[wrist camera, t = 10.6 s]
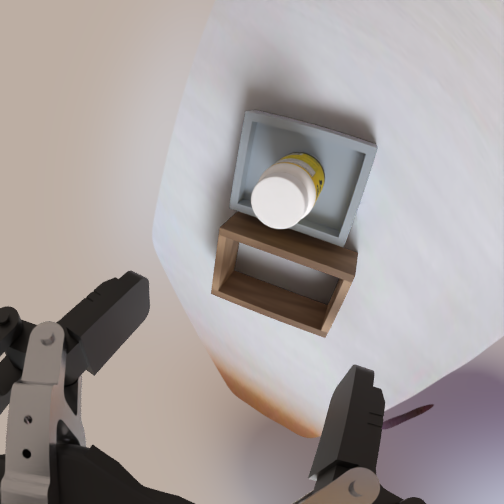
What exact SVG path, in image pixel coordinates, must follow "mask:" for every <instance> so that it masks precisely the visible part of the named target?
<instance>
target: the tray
mask: <svg viewBox="0 0 504 504" xmlns="http://www.w3.org/2000/svg"><path fill="white" fill-rule="evenodd" d="M377 149H378V148H377V145H376V144H374V143H371V142H368V141H365V140H362V139H359V138H356V137H353V136H350V135H347V134H344V133H341V132H338V131H334V130H331V129H328V128H324V127H321V126H318V125H314V124H310V123H307V122H303V121H299V120H296V119H292V118H288V117H284V116H280V115H276V114H271V113H267V112H262V111H258V110H249V111H245V116H244V122H243V128H242V133H241V139H240V145H239V150H238V156H237V162H236V168H235V174H234V180H233V186H232V193H231V199H230V205H229V208H230V209H233V210H236V211H239V212H242V213H245V214H248V215H251V216H254V217H257V216H256V215H255V213H254V211H253V209H252V205H251V195H252V191H253V189H254V187H255V186H256V184H257V183H258V181H259V179H260V177H261V175H262V174H263V173H264V171H265V170H267V169H268V168H269V167H270V166H272V165H273V164H275V163H276V162H277V161H279V160H280V159H282V158H283V157H285V156H286V155H288V154H290V153H292V152H306V153H309V154H311V155H313V156H314V157H316V158H317V159H318V160H319V161H320V163H321V164H322V166H323V168H324V171H325V183H324V186H323V189H322V191H321V193H320V194H319V197H318V198H317V200H316V202H315V205H314V206H313V208H312V210H311V211H310V212H309V213H308V214H307V215H306V216H305V217H304V218H302V219H300V221H299V222H298V223H297V224H295V225H294V226H292V227H289V228H290V229H292V230H295V231H298V232H301V233H304V234H307V235H310V236H312V237H315V238H318V239H321V240H324V241H327V242H329V243H332V244H335V245H338V246H341V247H343V248H344V245H345V243H346V240H347V237H348V235H349V232H350V229H351V226H352V224H353V221H354V218H355V215H356V213H357V210H358V207H359V204H360V201H361V198H362V195H363V192H364V189H365V186H366V183H367V180H368V177H369V174H370V171H371V168H372V165H373V162H374V158H375V155H376V152H377Z"/></svg>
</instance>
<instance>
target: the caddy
mask: <svg viewBox="0 0 504 504" xmlns="http://www.w3.org/2000/svg"><path fill="white" fill-rule="evenodd" d="M239 242H240V243H243V244H246V245H249V246H251V247H254V248H257V249H260V250H263V251H265V252H268V253H271V254H274V255H277V256H279V257H282V258H285V259H288V260H290V261H293V262H296V263H299V264H302V265H304V266H307V267H310V268H313V269H315V270H318V271H321V272H324V273H326V274H329V275H332V276H335V277H337V278H339V281H338V283H337V285H336V288H335V290H334V292H333V295H332V297H331V299H330V301H329V304H328V305H326V304H323V303H321V302H318V301H315V300H312V299H310V298H307V297H304V296H301V295H299V294H296V293H293V292H291V291H288V290H285V289H283V288H280V287H277V286H274V285H272V284H269V283H266V282H264V281H261V280H259V279H256V278H253V277H251V276H248V275H245V274H243V273H240V272H237V271H235V270H234V269H235V263H236V258H237V252H238V247H239ZM357 257H358V253H357V252H354V251H351V250H349V249H346V248H343V247H340V246H338V245H335V244H332V243H329V242H326V241H324V240H321V239H318V238H315V237H312V236H309V235H307V234H304V233H301V232H298V231H295V230H292V229H289V228H286V229H275V228H271V227H269V226H267V225H265V224H264V223H262V222H261V221H260V220H259V219H258V218H257V217H254V216H251V215H248V214H245V213H242V212H239V211H238V212H236V213H235V214H234V215H233V216H232V217H231V218H230V219H229V220H228V221H227V222H226V223H224V224H223V225H222V226H221V227H220V230H219V237H218V244H217V251H216V259H215V267H214V274H213V282H212V290H211V294H213V295H215V296H218V297H220V298H223V299H225V300H228V301H230V302H233V303H235V304H237V305H240V306H242V307H245V308H247V309H250V310H253V311H255V312H258V313H260V314H263V315H265V316H268V317H271V318H273V319H276V320H278V321H281V322H284V323H286V324H289V325H292V326H294V327H297V328H300V329H302V330H305V331H308V332H311V333H313V334H316V335H319V336H322V337H324V338H325V337H326V335H327V333H328V332H329V330H330V328H331V326H332V324H333V322H334V320H335V317H336V315H337V313H338V311H339V309H340V307H341V305H342V303H343V301H344V299H345V297H346V295H347V292H348V290H349V288H350V286H351V284H352V281H353V279H354V277H355V272H356V265H357Z"/></svg>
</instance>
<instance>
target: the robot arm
mask: <svg viewBox="0 0 504 504" xmlns="http://www.w3.org/2000/svg"><path fill="white" fill-rule="evenodd" d="M149 309H150V300H149V281H148V279H147V278H145V277H143V276H141V275H139V274H137V273H135V272H133V271H128V272H127V273H125V274H124V275H123V276H122V277H121V278H119V279H117V278H113V279H111V280H108V281H105V282H103V283H102V284H101V285H99V286H98V287H97V288H96V289H95V290H94V292H92V293H90V294H89V295H88V296H87V297H86V299H85V298H84V299H83V300H82V301H81V302H80V303H79V304H78V305H76V306H75V307H74V308H73V309H72V310H71V311H70V312H68V313H67V314H66V315H65V316H64V317H63V318H62V319H61V320H60V321H58V322H56V323H55V322H50V321H49V322H43V323H40V324H39V325H35V324H32V323H29V322H26V321H23V320H21V319H20V316H19V314H18V312H17V310H16V309H14V308H12V307H3V308H0V356H1V355H2V354H3V353H4V352H5V354H6V356H5V358H4V359H3V360H2V361H1V362H0V414H1V413H2V412H3V410H4V409H5V408H6V406H7V405H8V404H9V403H10V404H9V412H8V413H9V414H8V423H7V435H6V454H3V455H0V504H195V503H192V502H190V501H188V500H186V499H184V498H182V497H180V496H176V495H173V494H168V493H165V492H161V491H157V490H154V489H150V488H147V487H144V486H143V485H141V484H140V483H139V482H138V481H137V480H136V479H135V478H133V476H132V475H131V474H130V473H129V472H128V471H126V469H124V467H122V465H121V464H120V463H119V462H117V461H116V460H114V459H113V458H111V457H110V456H108V455H107V454H105V453H104V452H102V451H101V450H100V449H98V448H97V447H95V446H94V445H92V446H91V448H87V447H86V441H85V433H84V428H83V425H82V421H81V387H82V376H81V374H82V373H83V372H84V371H85V370H87V371H89V372H90V373H91V374H93V375H95V374H96V373H97V372H98V371H99V370H100V369H101V368H102V367H103V365H104V364H105V363H106V362H107V361H108V360H109V359H110V358H111V356H112V355H113V354H114V353H115V352H116V351H117V350H118V349H119V348H120V346H121V345H122V344H123V343H124V342H125V341H126V340H127V339H128V338H129V337H130V335H131V334H132V333H133V332H134V331H135V330H136V329H137V328H138V327H139V326H140V324H141V323H142V322H143V321H144V320H145V318H146V317H147V315H148V313H149ZM373 382H374V371H373V370H370V369H367V368H364V367H361V366H358V365H353V366H352V367H351V369H350V370H349V371H348V373H347V374H346V375H345V377H344V378H343V379H342V381H341V382H340V383H339V385H338V386H337V387H336V389H335V391H334V393H333V395H332V398H331V401H330V405H329V409H328V413H327V417H326V420H325V424H324V428H323V431H322V435H321V438H320V442H319V445H318V449H317V452H316V455H315V458H314V461H313V465H312V468H311V471H310V474H309V477H308V479H311V480H315V481H316V484H315V488H314V490H312V491H311V492H309V493H308V494H306V495H305V496H303V497H302V498H300V499H298V500H297V501H296V502H294V503H292V504H426V503H425V502H424V501H423V500H422V499H420V498H416V497H412V498H407V499H405V500H403V499H401V498H399V497H398V496H396V495H394V494H392V493H390V492H389V491H387V490H386V489H384V488H383V487H382V486H381V484H380V483H379V480H378V478H377V476H376V464H377V458H378V452H379V446H380V439H381V432H382V429H381V428H382V425H383V416H384V408H385V400H384V397H383V393H382V390H381V389H379V388H376V387H373Z"/></svg>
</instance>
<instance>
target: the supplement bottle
mask: <svg viewBox="0 0 504 504" xmlns="http://www.w3.org/2000/svg"><path fill="white" fill-rule="evenodd" d="M324 183H325V171H324V168H323V166H322V164H321V163H320V161H319V160H318V159H317V158H316V157H314V156H313V155H311V154H309V153H306V152H292V153H290V154H288V155H286V156H285V157H283V158H282V159H280V160H279V161H277V162H276V163H275V164H273V165H272V166H270V167H269V168H268V169H267V170H265V171H264V173H263V174H262V175H261V177H260V179H259V181H258V183H257V184H256V186H255V187H254V189H253V191H252V195H251V205H252V209H253V211H254V213H255V215H256V216H257V218H258V219H259V220H260V221H261V222H262V223H264V224H265V225H267V226H269V227H271V228H275V229H286V228H289V227H292V226H294V225H295V224H297V223H298V222H299V221H300V219H302V218H304V217H305V216H306V215H307V214H308V213H309V212H310V211H311V210H312V208H313V206H314V205H315V202H316V200H317V198H318V197H319V194H320V193H321V191H322V189H323V186H324Z"/></svg>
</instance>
